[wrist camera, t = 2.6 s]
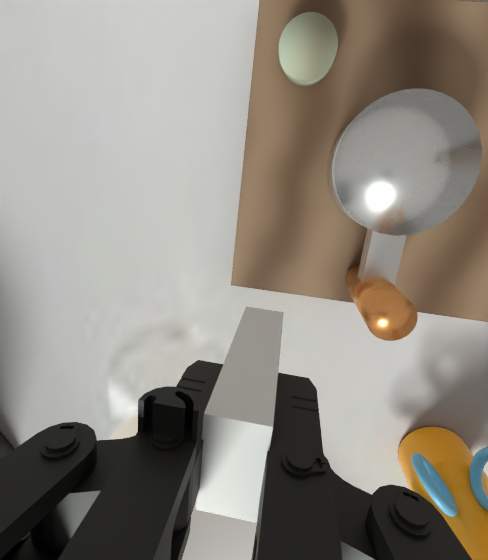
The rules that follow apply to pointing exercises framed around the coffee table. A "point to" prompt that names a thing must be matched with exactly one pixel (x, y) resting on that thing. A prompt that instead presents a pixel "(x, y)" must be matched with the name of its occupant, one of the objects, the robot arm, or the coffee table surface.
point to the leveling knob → (400, 190)
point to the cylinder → (450, 483)
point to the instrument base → (329, 125)
